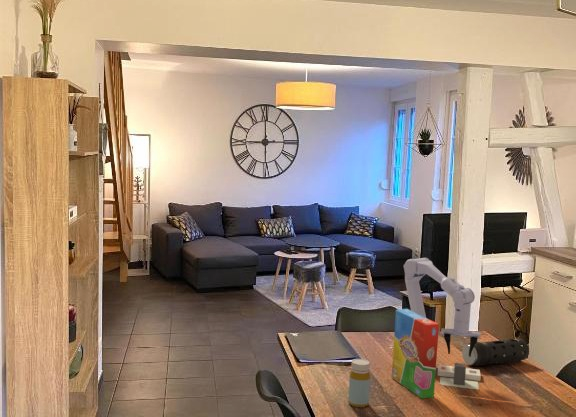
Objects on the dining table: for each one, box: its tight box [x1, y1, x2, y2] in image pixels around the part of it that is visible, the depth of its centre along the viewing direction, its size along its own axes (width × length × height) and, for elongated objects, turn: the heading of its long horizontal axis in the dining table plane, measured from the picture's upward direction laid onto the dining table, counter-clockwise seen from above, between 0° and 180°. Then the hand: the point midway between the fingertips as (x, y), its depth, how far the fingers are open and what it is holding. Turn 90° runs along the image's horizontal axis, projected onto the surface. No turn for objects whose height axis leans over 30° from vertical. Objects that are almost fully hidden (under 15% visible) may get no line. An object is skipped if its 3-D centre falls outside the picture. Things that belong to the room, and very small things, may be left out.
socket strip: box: [437, 364, 482, 382], centre depth 239 cm, size 16×7×3 cm, turn 75°
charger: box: [452, 362, 467, 385], centre depth 230 cm, size 4×4×7 cm
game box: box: [391, 308, 440, 399], centre depth 225 cm, size 21×6×27 cm, turn 22°
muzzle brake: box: [461, 337, 530, 367], centre depth 254 cm, size 10×28×10 cm, turn 112°
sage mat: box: [439, 376, 480, 391], centre depth 230 cm, size 14×8×1 cm, turn 75°
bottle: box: [347, 358, 371, 408], centre depth 208 cm, size 7×7×15 cm
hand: (459, 354), depth 234 cm, fingers open, 7 cm apart
